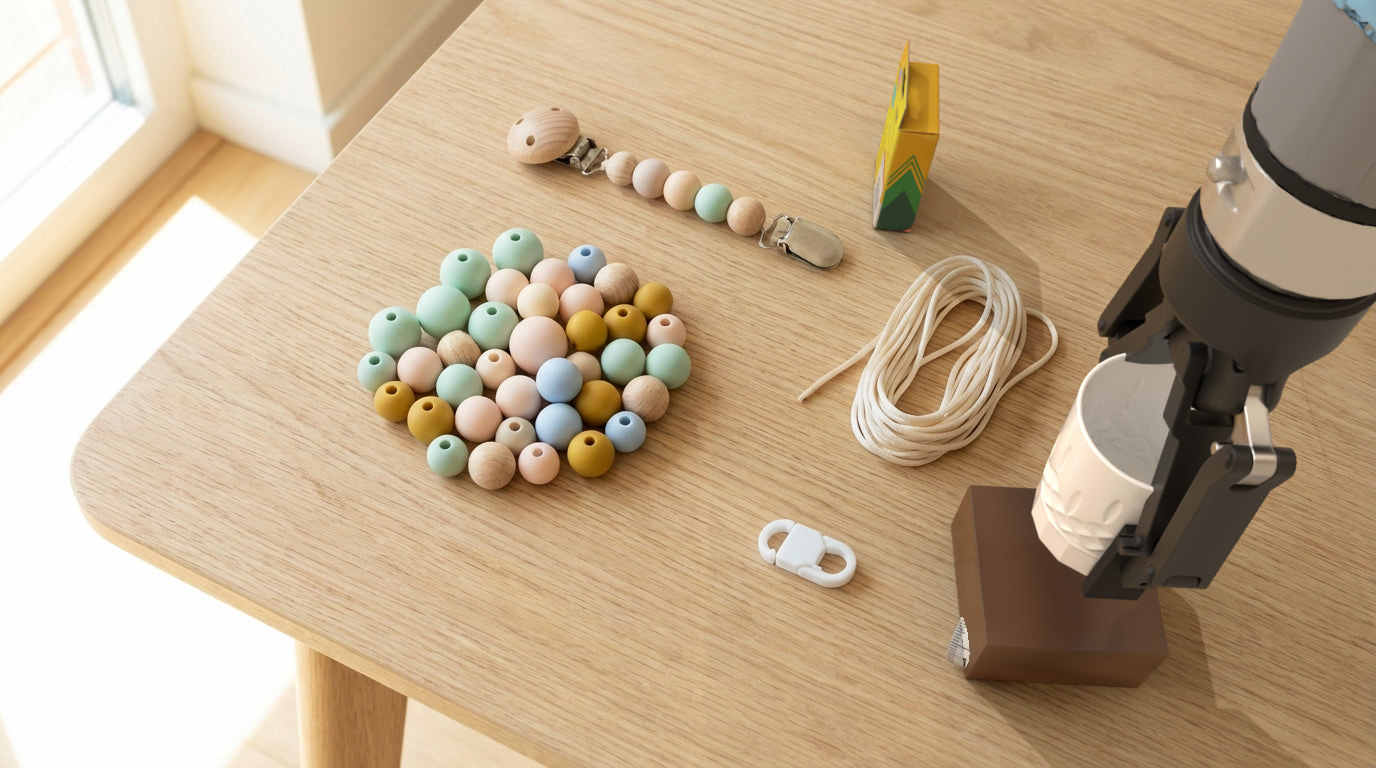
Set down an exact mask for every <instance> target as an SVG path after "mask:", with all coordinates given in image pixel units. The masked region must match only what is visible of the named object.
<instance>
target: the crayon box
mask: <svg viewBox="0 0 1376 768" xmlns="http://www.w3.org/2000/svg"><path fill="white" fill-rule="evenodd" d="M910 44H911V43H910V39H909V38H907V41H906V43H905V46H904V49H903V51H902V53H901V57H900V59H899V60H898V67H897V71H896V76H895V79H894V80H895V81H894V84H893V88H892V89H893V90H892V93H891V97H890V102H889V106H888V109H887V114H886V118H885V123H884V126H883V130H882V135H881V139H880V144H879V147H878V151H877V155H876V158H875V161H874V162H875V163H874V164H875V173H874V174H875V175H874V188H873V213H872V214H873V216H872V218H873V219H872V228H873V229H877V230H885V231H896V232H906V233H911V232H912V229H913V227H914V223H915V221H916V217H917V214H918V210H919V207H920V204H921V199H922V196H923V193H924V190H925V186H926V183H927V179H928V175H929V173H930V169H931V166H932V163H933V159H934V156H935V152H936V149H937V146H938V143H939V140H940V65H939V64H938V63H931V62H930V63H929V62H922V61H921V62H919V61H910Z"/></svg>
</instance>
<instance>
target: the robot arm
mask: <svg viewBox="0 0 1376 768" xmlns="http://www.w3.org/2000/svg"><path fill="white" fill-rule="evenodd" d="M1156 228H1157V229H1156V231H1155V233H1154V236H1153V238H1152V241H1151V243H1150V244H1149V245H1148V247H1147V248H1146V250H1145V251H1144V252H1143V254H1142V256H1141V257H1140V258H1139V260H1138V261H1137V263H1136V264H1135V265H1134V267H1133V269H1132V270H1131V271H1130V273H1129V274H1128V275H1127V277H1126V279H1124V281H1123V282H1122V284H1121V286H1120V287H1118V290H1117V291H1116V293H1115V294H1114V295H1113V296H1112V298H1111V299H1110V301H1109V302H1108V304H1107V305H1106V306H1105V308H1104V309H1103V311H1102V312H1101V314H1100V316H1099V317H1098V321H1097V323H1096V329H1097V334H1098V336H1099V338H1107V347H1106V348H1104V349H1103V350H1102V351H1101V352H1100V355H1099V359H1098V364H1100V363H1101V362H1103V361H1104V360H1106V359H1108V358H1111V357H1113V356H1116V355H1119V354H1123V353H1126V358H1125V361H1126V362H1131V363H1137V364H1173V363H1174V364H1173V367H1174V369H1175V372H1176V375H1175V378H1174V381H1173V384H1172V388H1171V391H1170V394H1169V397H1168V400H1167V403H1166V406H1165V409H1164V412H1163V418H1164V421H1165V422H1166V424H1167V426H1168V428H1169V432H1168V435H1167V438H1166V441H1165V444H1164V447H1163V450H1162V453H1161V456H1160V459H1159V462H1158V465H1157V468H1156V471H1155V474H1154V477H1153V480H1152V483H1151V486H1152V487H1153V492H1152V493H1151V495H1150V496H1149V497H1148V498H1147V500H1146V501H1145V504H1144V507H1143V510H1142V513H1141V516H1140V519H1139V522H1138V525H1131V524H1125V525H1124V526H1123V528H1122V529H1121V530H1120V532H1119V533H1118V534H1117V536H1116V537H1115V539H1114V540H1113V541H1112V543H1111V544H1110V546H1109V547H1108V548H1107V550H1106V551H1105V552H1104V554H1103V555H1102V557H1101V558H1100V559H1099V561H1098V562H1097V563H1096V565H1095V566H1094V568H1093V569H1092V570H1091V572H1090V573H1089V575H1088V576H1087V577H1086V579H1085V580H1084V581H1083V583H1082V590H1083V596H1084V598H1099V599H1117V600H1136V601H1137V600H1138V599H1139V597H1140V596H1141V595H1142V594H1143V593H1144V591H1145V590H1146V589H1155V588H1171V589H1191V590H1207V588H1209V587H1210V585H1211V583H1212V582H1213V580H1214V579H1215V577H1216V576H1217V574H1218V573H1219V571H1220V569H1222V566H1223V565H1224V563H1225V562H1226V561H1227V558H1228V557H1229V556H1230V554H1231V553H1232V552H1233V550H1234V548H1235V547H1236V545H1237V543H1238V542H1239V540H1240V539H1241V537H1242V536H1243V534H1244V533H1245V531H1246V529H1247V528H1248V527H1249V525H1250V524H1251V522H1252V520H1253V519H1254V518H1255V516H1256V514H1257V512H1258V511H1259V509H1260V508H1261V507H1262V505H1263V503H1264V502H1265V500H1266V498H1268V496H1269V494H1270V493H1271V491H1273V490H1274V489H1276V488H1278V487H1279V486H1281V485H1282V484H1284V483H1285V482H1287V481H1288V480H1290V479H1292V477H1293V476H1294V475H1295V473H1296V470H1297V466H1298V462H1297V461H1298V460H1297V459H1298V458H1297V454H1296V452H1295V450H1294V449H1293V448H1291V447H1288V446H1287V447H1286V446H1275V445H1274V441H1273V434H1272V429H1271V427H1272V426H1271V421H1270V415H1269V414H1270V413H1272V412H1273V411H1274V410H1275V409H1276V408H1277V407H1278V405H1279V403H1280V401H1281V398H1282V396H1283V392H1284V390H1285V386H1286V385H1287V381H1288V380H1289V378H1290V376H1291V375H1293V374H1294V373H1295V372H1297V371H1299V370H1301V369H1303V368H1304V367H1306V366H1309V365H1310V364H1311V365H1312V364H1313V363H1315V362H1317V361H1319V360H1320V359H1322V358H1324V357H1326V356H1327V355H1329V354H1331V353H1333V352H1334V351H1335V350H1336V349H1337V348H1339V347H1340V345H1341V344H1342V343H1343V342H1345V340H1346V338H1347V337H1348V336H1349V335H1350V333H1351V332H1352V331H1354V329H1355V328H1356V326H1357V325H1358V324H1359V323H1360V322H1361V320H1362V319H1363V318H1364V317H1365V315H1366V314H1367V313H1368V312H1369V310H1371V308H1372V307H1373V306H1374V305H1375V303H1376V0H1302V1H1301V4H1300V6H1299V7H1298V9H1297V11H1296V13H1295V15H1294V17H1293V19H1292V21H1291V23H1290V24H1289V26H1288V28H1287V30H1286V31H1285V34H1284V36H1283V38H1282V39H1281V41H1280V43H1279V45H1278V47H1277V49H1276V51H1275V53H1274V55H1273V56H1272V58H1271V61H1270V63H1269V64H1268V66H1267V67H1266V70H1265V71H1264V74H1263V76H1262V78H1260V79H1259V80H1257V81H1256V84H1255V86H1254V89H1253V90H1252V92H1251V93H1250V95H1249V97H1248V100H1247V102H1246V103H1245V106H1244V108H1243V110H1242V111H1241V114H1240V115H1239V117H1238V119H1237V120H1236V122H1235V124H1234V126H1233V127H1232V129H1231V131H1230V132H1229V134H1228V136H1227V138H1226V139H1225V142H1224V143H1223V145H1222V146H1221V149H1220V150H1219V152H1218V154H1217V155H1215V156H1213V157H1211V158H1210V159H1209V161H1208V163H1207V165H1206V170H1205V176H1204V178H1203V181H1202V183H1201V186H1199V187H1198V189H1197V190H1196V191H1195V192H1194V194H1193V195H1192V196H1191V199H1190V200H1189V202H1188V204H1187V206H1186V207H1185V206H1183V207H1182V206H1167V207H1165V209H1164V211H1163V213H1162V216H1161V219H1160V221H1159V223H1158V226H1157V227H1156ZM1191 407H1192V408H1194V409H1195V410H1191Z"/></svg>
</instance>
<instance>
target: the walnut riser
mask: <svg viewBox="0 0 1376 768" xmlns="http://www.w3.org/2000/svg"><path fill="white" fill-rule="evenodd" d="M1036 489H1037V487H1036V488H1034V487H1014V486H997V485H981V484H980V485H979V484H978V485H977V484H969V485H968V486H967V490H966V492H965V494H964V496H963V498H962V500H961V502H960V504H959V507H958V508H957V510H956V513H955V515H954V517H953V519H952V521H951V523H950V529H951V541H952V550H953V563H954V572H955V582H956V583H955V584H956V593H957V594H956V596H957V603H958V605H957V606H958V615H960V617H963V618H964V621H965V625H966V628H967V632H968V640H969V649H970V650H969V652H970V655H969V662H968V664H967V666H966V668H965V670H964V678H965V679H966V680H983V681H1002V682H1020V683H1021V682H1022V683H1039V684H1058V685H1059V684H1060V685H1062V684H1063V685H1075V686H1076V685H1079V686H1097V687H1116V688H1132V689H1133V688H1136V689H1137V688H1139V687H1140V686H1141V685H1142V684H1143V683H1144V682H1145V681H1146V680H1147V679H1148V678H1149V677H1150V676H1151V675H1152V674H1153V673H1154V672H1155V671H1156V670H1157V669H1158V668H1159V666H1160V665H1162V664H1163V662H1164V661H1165V660H1166V659H1167V658H1168V657H1169V656H1170V650H1169V645H1168V641H1167V635H1166V631H1165V626H1164V619H1163V614H1162V609H1161V605H1160V598H1159V594H1158V589H1157V588H1158V587H1157V588H1155V589H1146V590H1145V591H1144V593H1143V594H1142V595H1141V596H1140V597H1139V599H1138V600H1137V601H1136V600H1117V599H1099V598H1084V596H1083V590H1082V583H1083V581H1084V580H1085V579H1086V577H1087V576H1086V575H1083V574H1082V573H1080V572H1078V571H1076V570H1074V569H1072V568H1070V567H1069V566H1067V565H1065V564H1063V563H1061V562H1059V561H1058V560H1057V559H1056V558H1055V556H1054V555H1053V554H1052V553H1051V552H1050V551H1049V549H1048V548H1047V547H1046V546H1045V545H1044V544H1043V542H1042V541H1041V540H1040V539H1039V536H1038V533H1037V530H1036V526H1035V523H1034V520H1033V517H1032V513H1031V512H1032V508H1033V503H1034V498H1035V494H1036ZM959 613H960V614H959ZM960 617H959V618H960Z"/></svg>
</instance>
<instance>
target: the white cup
mask: <svg viewBox="0 0 1376 768" xmlns="http://www.w3.org/2000/svg"><path fill="white" fill-rule="evenodd" d="M1125 358H1126V353H1123V354H1119V355H1116V356H1113V357H1111V358H1108V359H1106V360H1104V361H1103V362H1101V363H1100V364H1099V363H1098V364H1097V365H1096V366H1094V367H1093V368H1092V369H1091V370H1090V371H1089V372H1088V373H1087V375H1086V376H1085V378H1084V379H1083V381H1082V383H1081V385H1080V386H1079V389H1078V392H1077V393H1076V396H1075V398H1074V400H1073V403H1072V405H1071V406H1070V409H1069V412H1068V413H1067V415H1066V417H1065V420H1064V422H1063V424H1062V426H1061V428H1060V430H1059V433H1058V435H1057V437H1056V439H1055V441H1054V443H1053V447H1052V449H1051V452H1050V454H1049V456H1048V459H1047V461H1046V464H1045V466H1044V469H1043V472H1042V476H1041V479H1040V481H1039V483H1038V485H1037V487H1036V494H1035V498H1034V503H1033V508H1032V512H1031V513H1032V517H1033V520H1034V523H1035V526H1036V530H1037V533H1038V536H1039V539H1040V540H1041V541H1042V542H1043V544H1044V545H1045V546H1046V547H1047V548H1048V549H1049V551H1050V552H1051V553H1052V554H1053V555H1054V556H1055V558H1056V559H1057V560H1058V561H1059V562H1061V563H1063V564H1065V565H1067V566H1069V567H1070V568H1072V569H1074V570H1076V571H1078V572H1080V573H1082V574H1083V575H1086V576H1088V575H1089V573H1090V572H1091V570H1092V569H1093V568H1094V566H1095V565H1096V563H1097V562H1098V561H1099V559H1100V558H1101V557H1102V555H1103V554H1104V552H1105V551H1106V550H1107V548H1108V547H1109V546H1110V544H1111V543H1112V541H1113V540H1114V539H1115V537H1116V536H1117V534H1118V533H1119V532H1120V530H1121V529H1122V528H1123V526H1124V525H1125V524H1131V525H1138V522H1139V519H1140V516H1141V513H1142V510H1143V507H1144V504H1145V501H1146V500H1147V498H1148V497H1149V496H1150V495H1151V493H1152V492H1153V487H1152V486H1151V483H1152V480H1153V477H1154V474H1155V471H1156V468H1157V465H1158V462H1159V459H1160V456H1161V453H1162V450H1163V447H1164V444H1165V441H1166V438H1167V435H1168V432H1169V428H1168V426H1167V424H1166V422H1165V421H1164V418H1163V412H1164V409H1165V406H1166V403H1167V400H1168V397H1169V394H1170V391H1171V388H1172V384H1173V381H1174V378H1175V375H1176V372H1175V369H1174V367H1173V364H1174V363H1173V364H1137V363H1131V362H1126V361H1125ZM1191 410H1195V409H1194V408H1192V407H1191Z"/></svg>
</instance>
